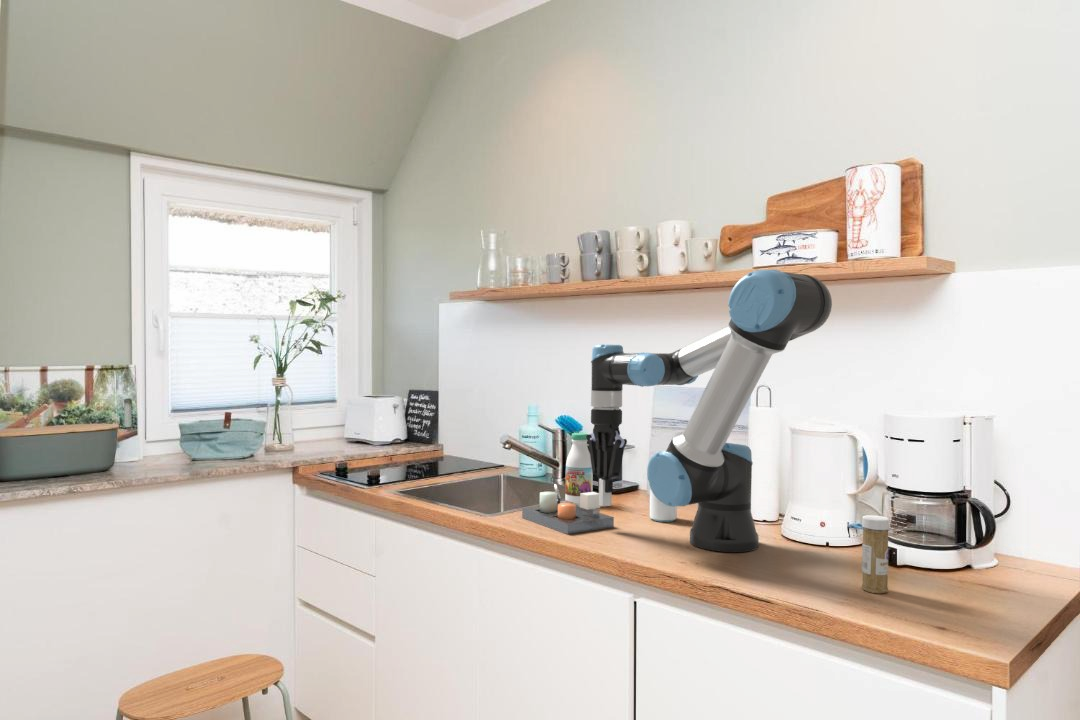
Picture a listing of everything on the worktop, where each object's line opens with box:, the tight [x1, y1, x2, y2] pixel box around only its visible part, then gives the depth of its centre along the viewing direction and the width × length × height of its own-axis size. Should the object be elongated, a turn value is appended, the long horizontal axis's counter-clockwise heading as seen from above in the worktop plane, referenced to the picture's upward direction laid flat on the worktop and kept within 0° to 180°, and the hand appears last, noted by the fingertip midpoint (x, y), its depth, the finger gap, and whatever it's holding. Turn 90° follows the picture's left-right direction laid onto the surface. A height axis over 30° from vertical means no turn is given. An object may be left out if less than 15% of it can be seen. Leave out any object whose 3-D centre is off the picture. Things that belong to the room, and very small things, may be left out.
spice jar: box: [861, 514, 891, 594], centre depth 133 cm, size 5×5×13 cm
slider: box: [580, 491, 601, 510], centre depth 181 cm, size 3×4×4 cm
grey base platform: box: [521, 483, 615, 535], centre depth 183 cm, size 21×14×8 cm
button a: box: [558, 503, 576, 520], centre depth 178 cm, size 4×4×4 cm
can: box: [648, 487, 678, 523], centre depth 188 cm, size 7×7×12 cm
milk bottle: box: [564, 432, 594, 504], centre depth 206 cm, size 8×8×20 cm
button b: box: [539, 491, 557, 513], centre depth 185 cm, size 4×4×4 cm
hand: (605, 505), depth 176 cm, fingers closed
